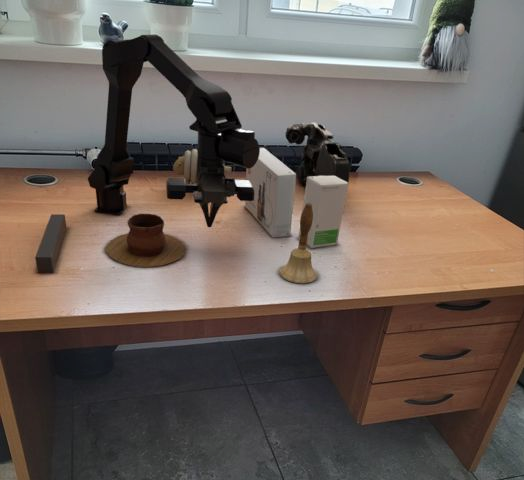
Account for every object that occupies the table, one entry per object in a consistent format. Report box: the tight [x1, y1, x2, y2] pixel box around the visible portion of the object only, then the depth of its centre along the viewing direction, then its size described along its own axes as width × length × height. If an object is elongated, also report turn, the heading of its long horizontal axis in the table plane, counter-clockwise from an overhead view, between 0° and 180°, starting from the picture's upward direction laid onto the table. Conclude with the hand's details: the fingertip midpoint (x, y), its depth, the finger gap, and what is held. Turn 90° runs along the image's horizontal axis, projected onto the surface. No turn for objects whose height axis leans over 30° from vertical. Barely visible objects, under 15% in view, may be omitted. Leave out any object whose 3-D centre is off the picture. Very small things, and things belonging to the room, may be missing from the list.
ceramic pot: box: [104, 213, 187, 268], centre depth 115 cm, size 18×18×7 cm
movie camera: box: [285, 122, 350, 187], centre depth 153 cm, size 31×18×18 cm, turn 13°
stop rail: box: [34, 213, 68, 274], centre depth 112 cm, size 3×22×4 cm, turn 10°
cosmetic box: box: [297, 176, 349, 249], centre depth 124 cm, size 8×7×16 cm
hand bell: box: [279, 203, 318, 284], centre depth 109 cm, size 8×8×16 cm
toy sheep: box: [172, 148, 233, 184], centre depth 149 cm, size 11×17×11 cm, turn 99°
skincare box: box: [244, 147, 297, 239], centre depth 132 cm, size 21×5×16 cm, turn 22°
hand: (209, 226), depth 116 cm, fingers closed
